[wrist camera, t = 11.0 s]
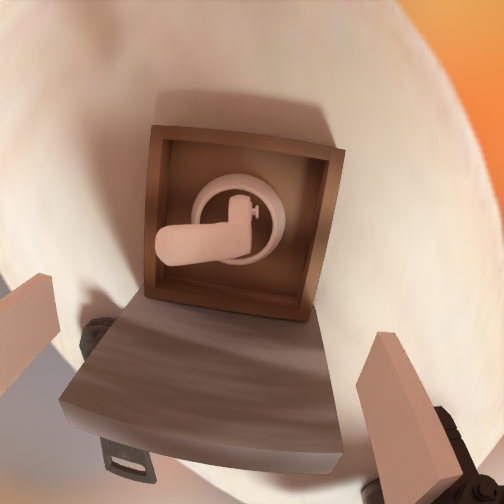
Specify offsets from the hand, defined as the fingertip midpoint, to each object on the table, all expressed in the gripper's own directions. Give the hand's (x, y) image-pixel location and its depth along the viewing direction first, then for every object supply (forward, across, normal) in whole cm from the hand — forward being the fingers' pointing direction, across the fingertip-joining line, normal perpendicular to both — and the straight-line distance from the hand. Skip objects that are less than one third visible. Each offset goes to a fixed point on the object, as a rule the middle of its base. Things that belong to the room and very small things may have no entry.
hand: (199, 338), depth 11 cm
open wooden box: (+16, 0, +1) cm, 16 cm away
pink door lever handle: (+16, 0, -1) cm, 16 cm away
